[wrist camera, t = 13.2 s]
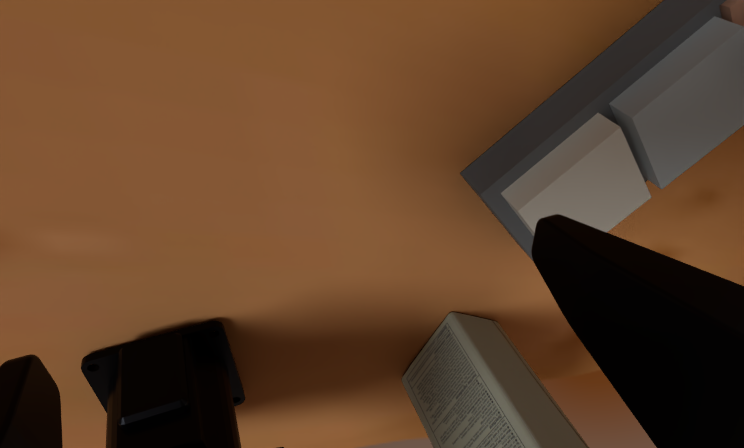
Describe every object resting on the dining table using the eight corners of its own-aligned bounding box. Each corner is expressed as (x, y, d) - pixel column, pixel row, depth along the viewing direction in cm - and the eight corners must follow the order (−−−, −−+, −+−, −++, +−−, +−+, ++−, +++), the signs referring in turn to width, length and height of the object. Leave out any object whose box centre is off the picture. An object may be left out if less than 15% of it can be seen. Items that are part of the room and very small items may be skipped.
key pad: (518, 244, 31) (554, 284, 29) (459, 173, 27) (496, 213, 24) (818, 3, 28) (889, 23, 25) (812, -126, 23) (897, -117, 21)
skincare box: (446, 383, 37) (549, 569, 28) (396, 378, 35) (490, 579, 26) (499, 317, 35) (631, 497, 26) (449, 306, 32) (574, 501, 23)
